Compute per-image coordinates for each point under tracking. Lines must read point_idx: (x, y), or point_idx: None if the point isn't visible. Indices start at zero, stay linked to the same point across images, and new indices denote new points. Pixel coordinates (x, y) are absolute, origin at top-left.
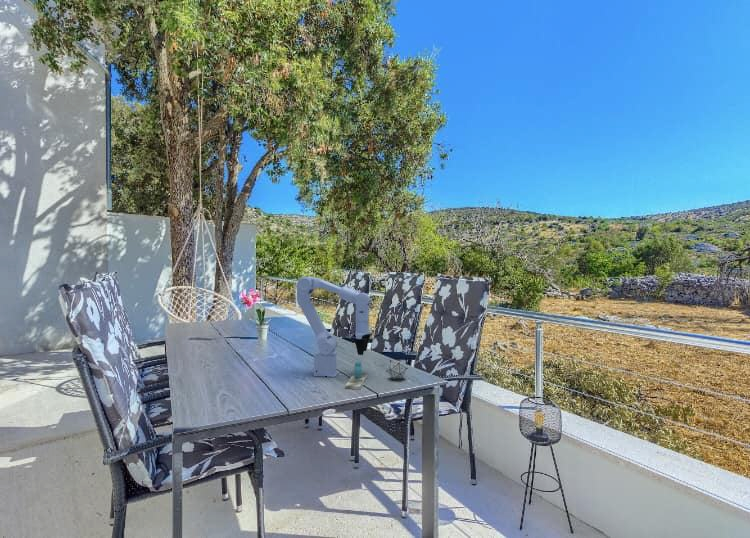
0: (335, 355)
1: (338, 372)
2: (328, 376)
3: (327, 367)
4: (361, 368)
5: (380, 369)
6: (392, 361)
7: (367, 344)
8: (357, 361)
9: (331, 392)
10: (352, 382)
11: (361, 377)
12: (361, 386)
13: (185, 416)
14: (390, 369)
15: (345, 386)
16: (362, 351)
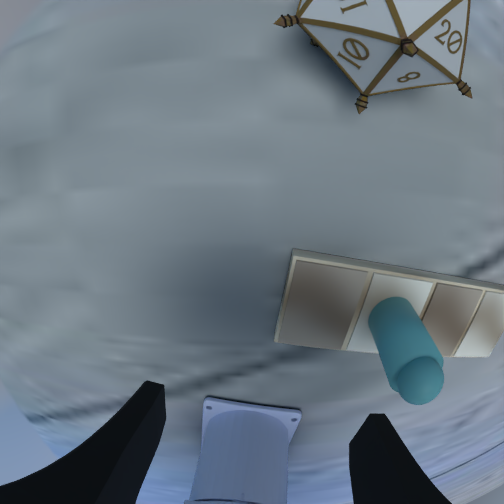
0: (254, 499)
1: (220, 399)
2: (294, 428)
3: (287, 465)
4: (427, 337)
5: (97, 155)
6: (403, 25)
7: (119, 439)
8: (427, 401)
9: (495, 380)
10: (461, 335)
11: (403, 299)
12: (490, 283)
13: (474, 497)
14: (466, 84)
15: (489, 353)
16: (397, 447)
